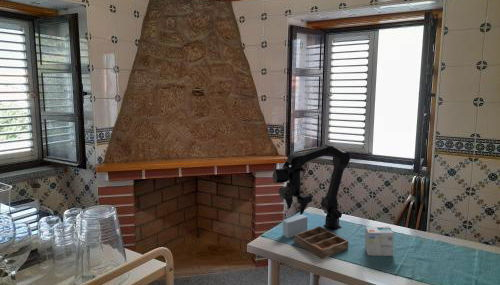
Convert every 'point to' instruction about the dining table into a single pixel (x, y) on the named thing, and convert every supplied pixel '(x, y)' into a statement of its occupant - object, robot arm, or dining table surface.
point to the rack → (321, 242)
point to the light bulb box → (379, 241)
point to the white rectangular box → (294, 225)
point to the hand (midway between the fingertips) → (295, 211)
